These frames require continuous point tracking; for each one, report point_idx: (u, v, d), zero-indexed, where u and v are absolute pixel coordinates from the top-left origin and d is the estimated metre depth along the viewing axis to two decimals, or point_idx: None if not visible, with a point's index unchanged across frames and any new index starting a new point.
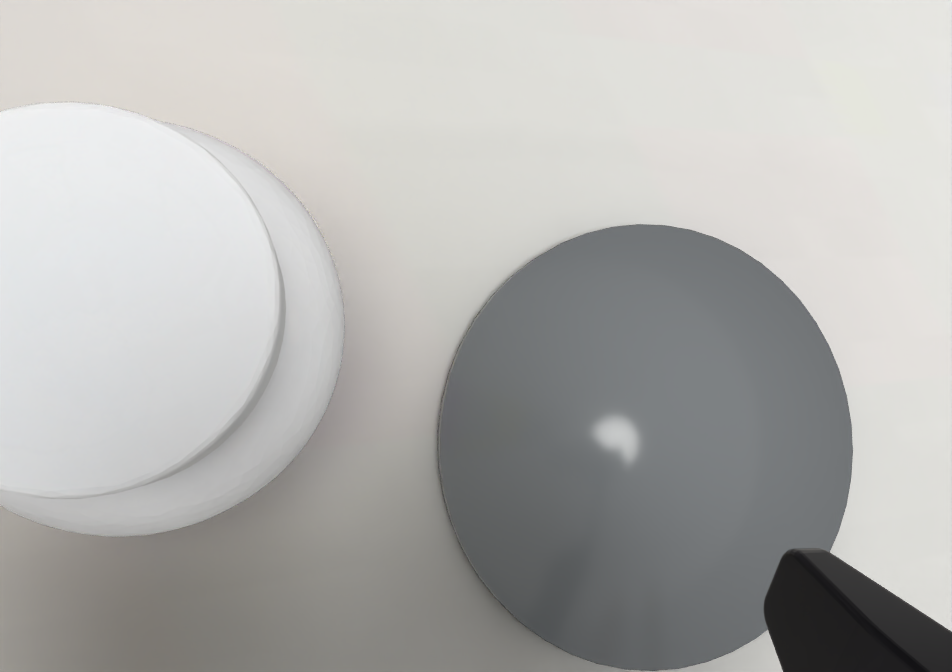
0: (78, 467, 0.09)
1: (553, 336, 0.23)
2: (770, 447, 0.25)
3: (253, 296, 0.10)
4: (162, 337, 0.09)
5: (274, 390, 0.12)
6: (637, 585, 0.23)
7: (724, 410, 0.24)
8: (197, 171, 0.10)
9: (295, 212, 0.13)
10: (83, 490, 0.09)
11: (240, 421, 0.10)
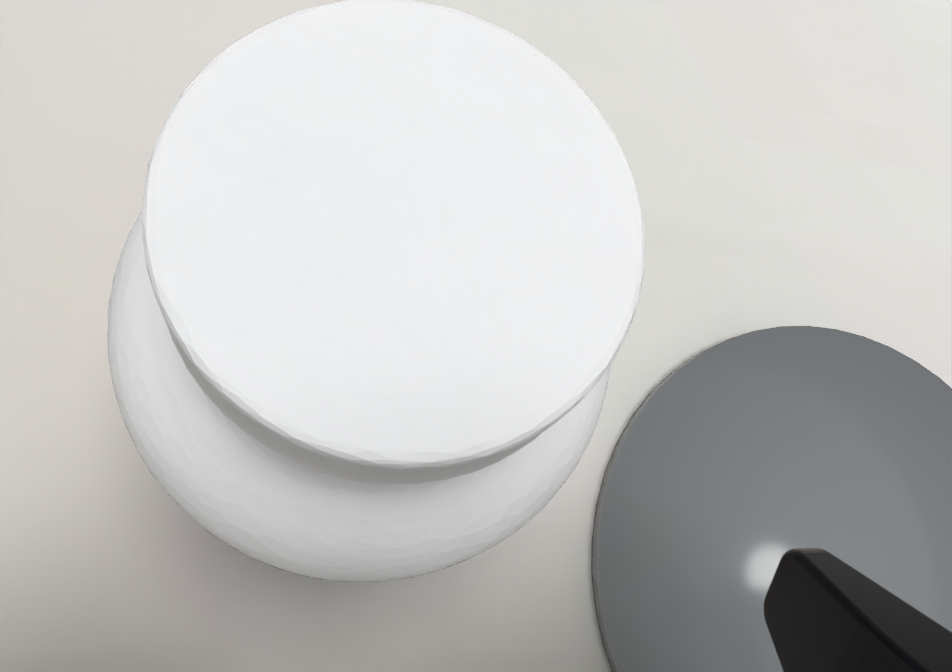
0: (406, 423, 0.07)
1: (722, 439, 0.21)
2: None
3: (617, 236, 0.08)
4: (512, 272, 0.07)
5: None
6: None
7: (911, 539, 0.21)
8: (555, 90, 0.08)
9: None
10: (409, 456, 0.07)
11: None
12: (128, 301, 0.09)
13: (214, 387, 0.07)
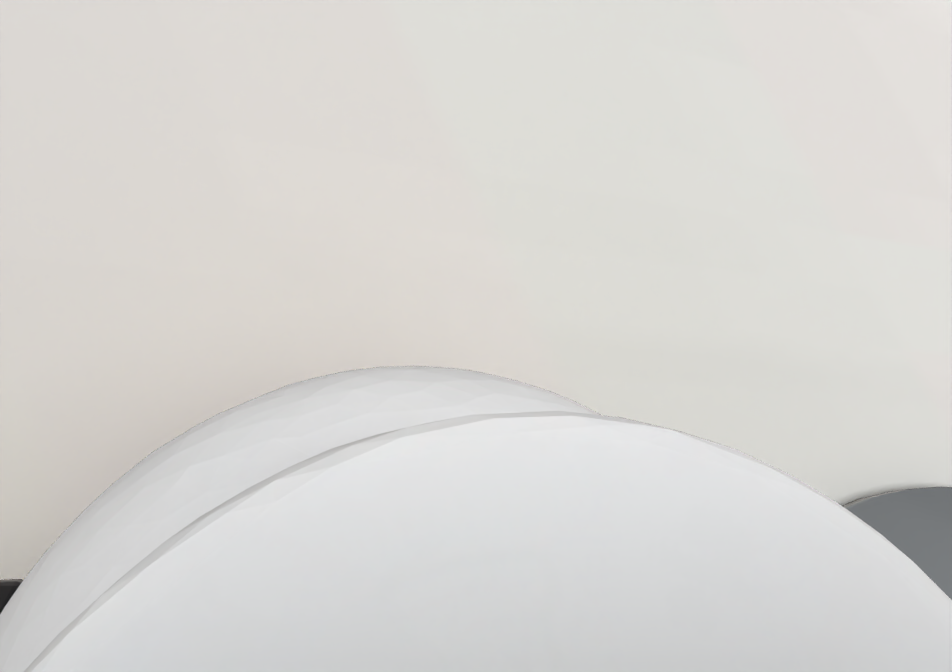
0: None
1: None
2: None
3: None
4: None
5: None
6: None
7: None
8: (911, 636, 0.03)
9: None
10: None
11: None
12: None
13: None
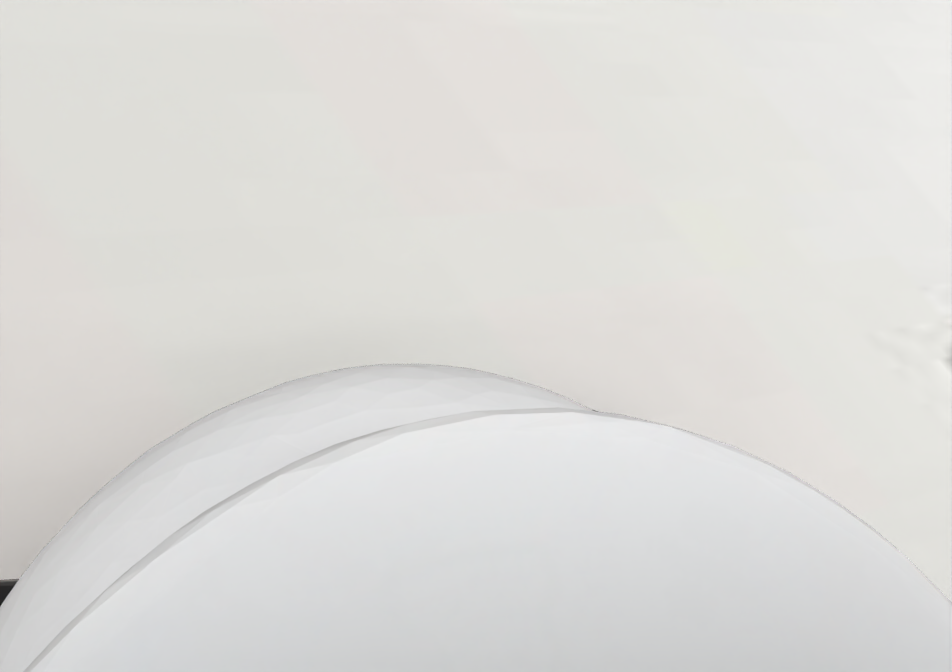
0: None
1: None
2: None
3: None
4: None
5: None
6: None
7: None
8: (907, 629, 0.03)
9: None
10: None
11: None
12: None
13: None
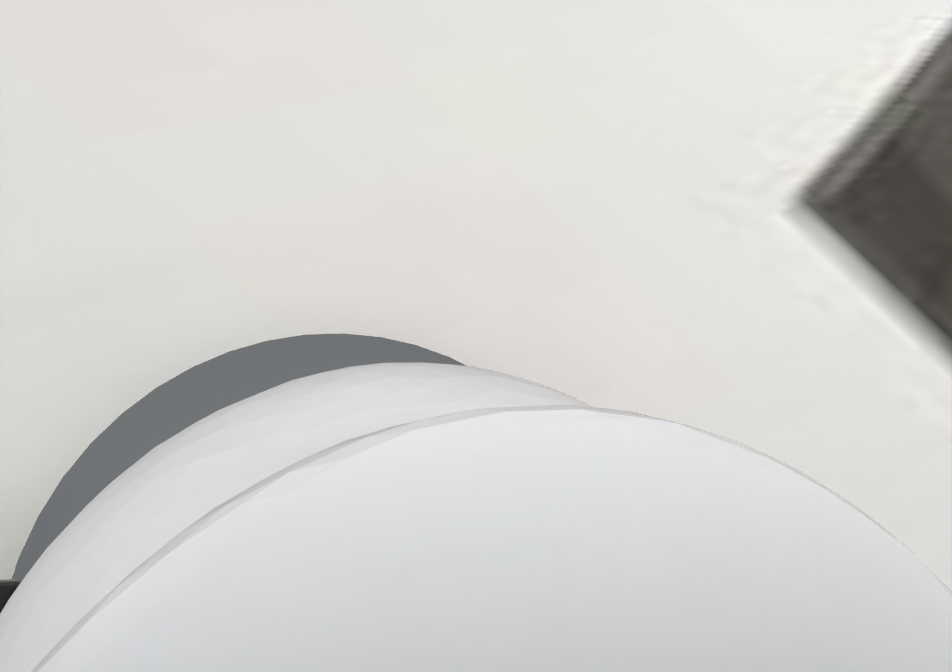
0: None
1: None
2: None
3: None
4: None
5: None
6: None
7: None
8: (915, 625, 0.03)
9: None
10: None
11: None
12: None
13: None
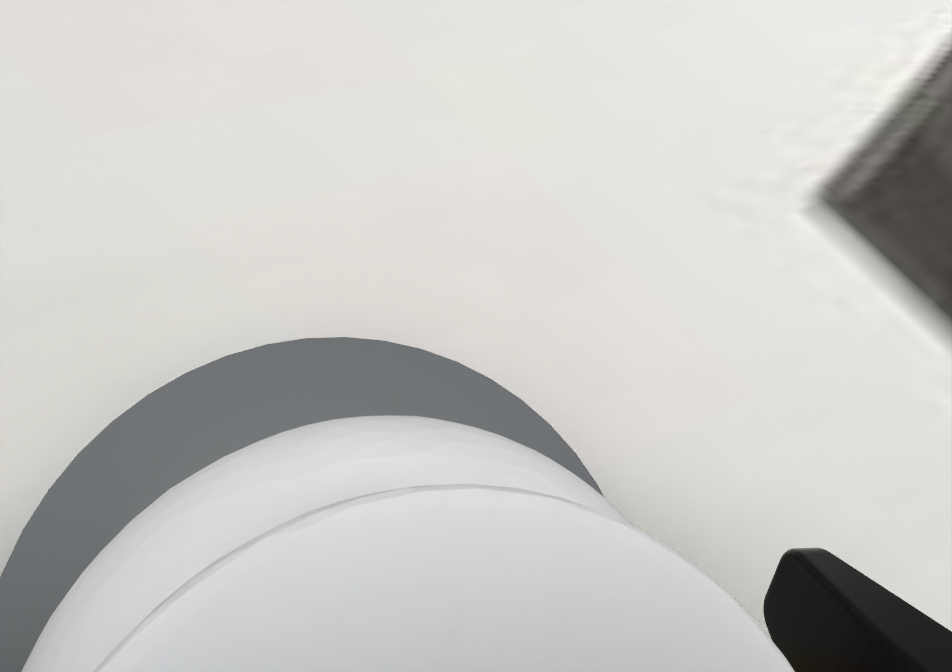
0: None
1: None
2: None
3: None
4: None
5: None
6: None
7: None
8: (720, 647, 0.05)
9: None
10: None
11: None
12: None
13: None
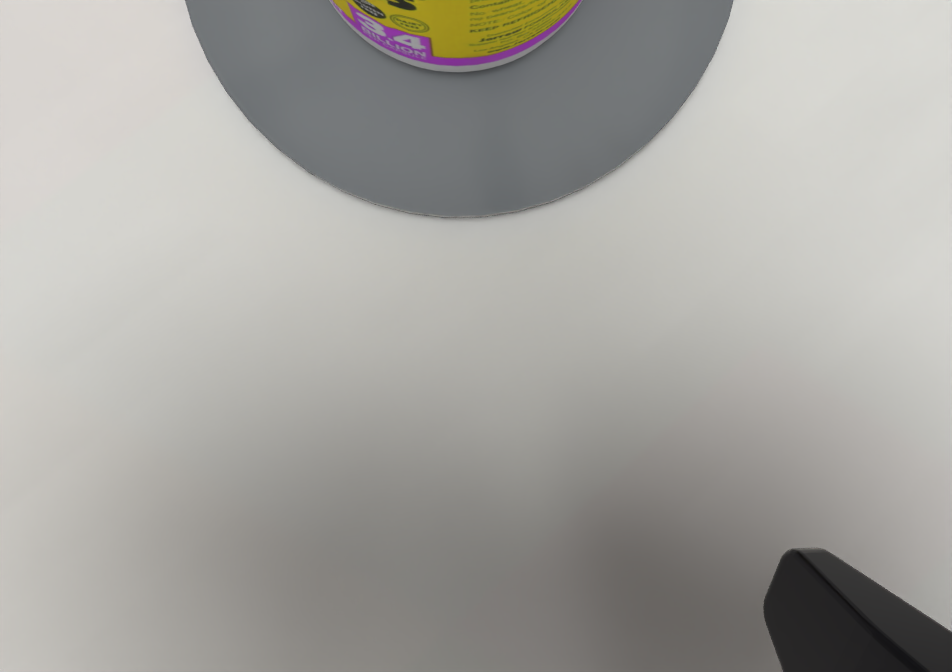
0: None
1: None
2: None
3: None
4: None
5: None
6: (519, 103, 0.19)
7: None
8: None
9: None
10: None
11: None
12: None
13: None
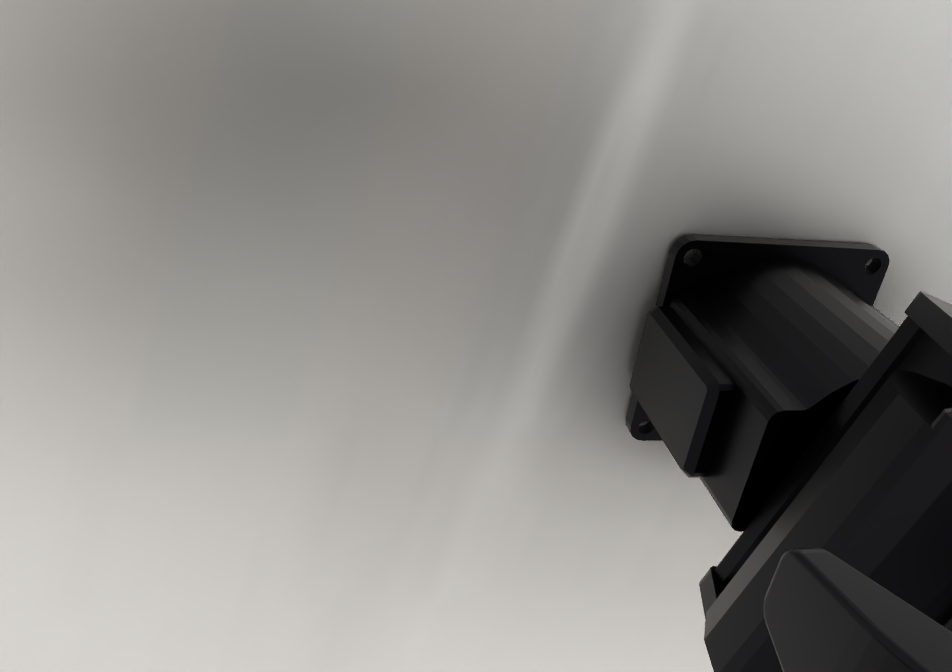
0: None
1: None
2: None
3: None
4: None
5: None
6: None
7: None
8: None
9: None
10: None
11: None
12: None
13: None
